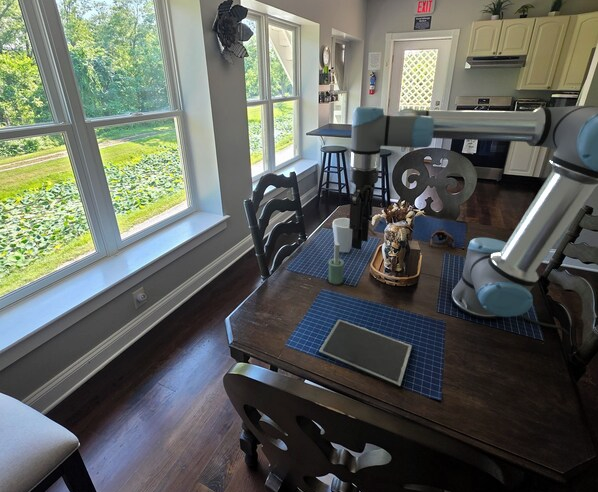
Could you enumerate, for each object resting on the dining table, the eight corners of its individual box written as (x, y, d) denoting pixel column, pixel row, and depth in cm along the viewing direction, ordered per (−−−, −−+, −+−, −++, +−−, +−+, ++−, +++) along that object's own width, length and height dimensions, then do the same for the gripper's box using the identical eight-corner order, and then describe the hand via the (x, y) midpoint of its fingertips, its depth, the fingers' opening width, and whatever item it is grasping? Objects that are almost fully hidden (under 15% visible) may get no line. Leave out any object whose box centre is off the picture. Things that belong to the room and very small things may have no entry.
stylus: (338, 278, 119) (340, 243, 113) (337, 281, 117) (338, 245, 111) (334, 277, 120) (335, 242, 114) (332, 280, 118) (333, 244, 112)
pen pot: (345, 278, 120) (346, 260, 116) (339, 286, 115) (340, 267, 112) (331, 274, 122) (332, 256, 119) (325, 282, 118) (326, 263, 115)
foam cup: (357, 247, 140) (358, 221, 135) (348, 257, 133) (349, 229, 128) (337, 242, 145) (338, 216, 140) (328, 251, 138) (328, 224, 133)
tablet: (411, 348, 89) (412, 344, 89) (400, 388, 78) (400, 385, 78) (338, 321, 99) (338, 318, 99) (318, 353, 88) (318, 350, 88)
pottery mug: (459, 253, 136) (454, 240, 131) (436, 259, 139) (431, 247, 135) (450, 233, 145) (445, 221, 141) (429, 240, 148) (424, 228, 144)
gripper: (362, 158, 94) (358, 229, 103) (337, 174, 80) (335, 254, 89) (387, 161, 90) (381, 234, 99) (366, 178, 76) (361, 261, 85)
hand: (359, 243), depth 94 cm, fingers open, 5 cm apart
